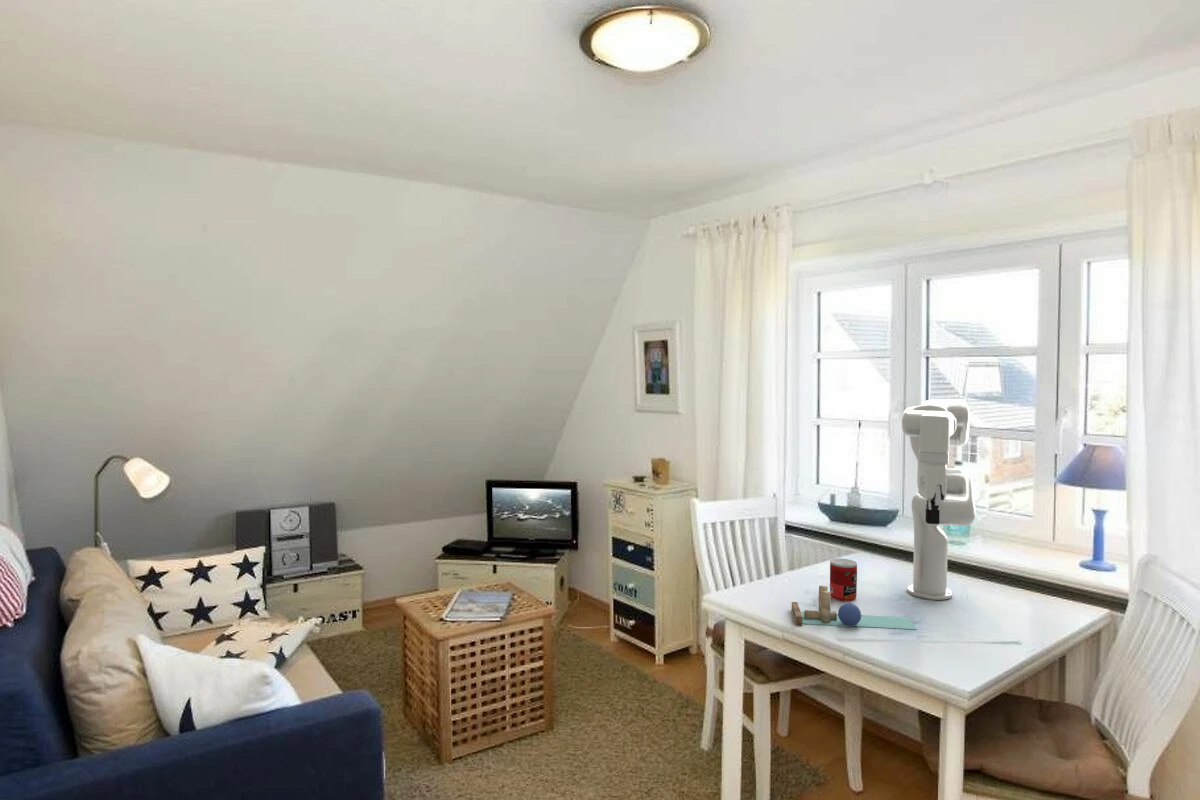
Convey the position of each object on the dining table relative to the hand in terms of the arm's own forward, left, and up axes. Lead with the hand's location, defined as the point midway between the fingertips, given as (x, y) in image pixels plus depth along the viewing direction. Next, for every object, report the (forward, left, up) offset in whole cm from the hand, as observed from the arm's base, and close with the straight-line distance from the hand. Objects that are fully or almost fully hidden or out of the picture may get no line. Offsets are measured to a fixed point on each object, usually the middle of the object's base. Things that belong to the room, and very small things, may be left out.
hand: (932, 523), depth 201 cm
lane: (+5, -21, -27) cm, 35 cm away
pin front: (+5, -26, -26) cm, 37 cm away
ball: (+9, -23, -24) cm, 35 cm away
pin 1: (+3, -29, -27) cm, 40 cm away
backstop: (+5, -37, -27) cm, 46 cm away
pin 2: (+8, -29, -27) cm, 41 cm away
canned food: (-15, -21, -27) cm, 38 cm away
